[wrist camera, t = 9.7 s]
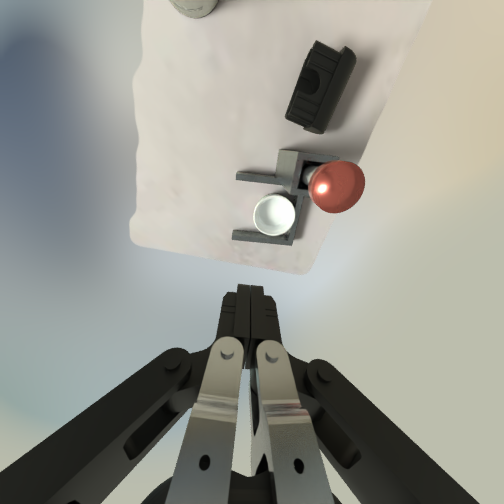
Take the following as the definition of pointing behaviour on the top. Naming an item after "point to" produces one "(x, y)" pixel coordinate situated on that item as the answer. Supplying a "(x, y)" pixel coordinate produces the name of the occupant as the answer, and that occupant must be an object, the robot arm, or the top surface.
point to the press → (290, 180)
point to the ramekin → (274, 214)
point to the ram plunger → (334, 184)
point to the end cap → (320, 87)
